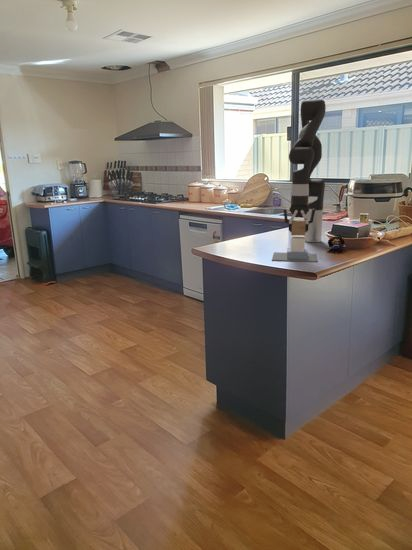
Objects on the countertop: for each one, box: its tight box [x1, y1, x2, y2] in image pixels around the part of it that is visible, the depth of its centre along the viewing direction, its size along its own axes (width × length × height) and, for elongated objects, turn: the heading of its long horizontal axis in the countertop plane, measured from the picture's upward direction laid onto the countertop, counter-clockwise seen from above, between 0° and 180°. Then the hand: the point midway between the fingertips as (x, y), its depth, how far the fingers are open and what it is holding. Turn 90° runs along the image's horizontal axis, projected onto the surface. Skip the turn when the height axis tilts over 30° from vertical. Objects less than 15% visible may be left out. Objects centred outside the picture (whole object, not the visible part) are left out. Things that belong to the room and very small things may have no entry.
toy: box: [326, 235, 346, 254], centre depth 211 cm, size 9×6×15 cm
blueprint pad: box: [271, 247, 319, 263], centre depth 197 cm, size 16×20×4 cm
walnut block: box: [290, 219, 306, 236], centre depth 194 cm, size 6×6×6 cm
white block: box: [290, 235, 306, 252], centre depth 196 cm, size 6×6×6 cm
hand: (298, 231), depth 195 cm, fingers closed on walnut block, 6 cm apart
